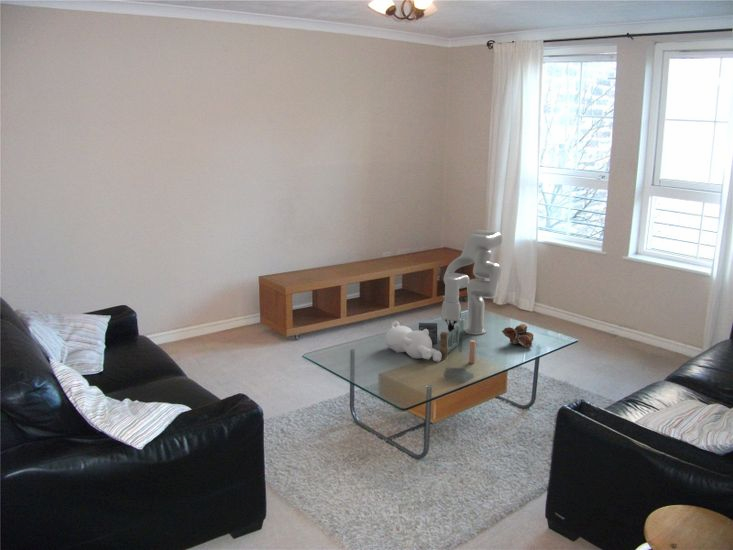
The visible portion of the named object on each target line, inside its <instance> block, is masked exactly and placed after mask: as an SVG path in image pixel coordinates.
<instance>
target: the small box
mask: <svg viewBox="0 0 733 550" xmlns="http://www.w3.org/2000/svg"><path fill="white" fill-rule="evenodd" d="M424 329H427V330H428V331H429V336H430V338H431V341H432V345H437V344H438V322H434V323H433V322H418V330H419V331H423V330H424Z"/></svg>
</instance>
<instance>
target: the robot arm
mask: <svg viewBox="0 0 733 550" xmlns="http://www.w3.org/2000/svg"><path fill="white" fill-rule="evenodd" d="M502 242H503V235H502V234H501V233H500V232H498V231H492V230H487V229H486V230H485V229H478V230H477V229H476V230H474V231H473V233H472V234H471V235H469V236H468V237H467V241H466V242H465V245H464V248H463V249H462V252H461V254H460V255H459V256H458V257H456V258H455V259H454V260H452V261H451V262H450V263H449V264H448V266H447V267H446V270H445V273H444V275H443V283H444V284H445V285H444V286H445V287H444V295H443V296H442V299H443V301H442V305H441V312H440V313H441V315H440V316H441V317H440V318H441V320H442V321H445V322H446V324H447V330H448V333H449V332H450V331H451V330H453V329H454V328H455V325H456V324H457V323H461V322H462V320H461V319H462V308H461V302H460V289H465V288H466V292H467V316H466V317H467V321H466V323H467V324H466V327H464V333H466V334H468V335H474V336H475V335H476V336H477V335H484V334H486V332H487V329H486V328H485V327H484V324H485V323H484V322H485V300H484V298H487V299H494V298H495V297H496V296H497V293H498V288H499V283H500V279H501V274H502V268H501V265H500V264H499V263H497V262H491V258H492V252H491V251H493V250H495V249H497V248H498V247H499V246H500V245H502ZM472 264H473V269H472V273H473V276H475V277H477V278H472V279H471V278H470V277H469V276H468V275H467V274H464V273H458V272H456V271H457V270H458V269H460V268H462V267H466V266H469V265H472ZM478 278H481V279H478ZM484 279H488V280H484Z"/></svg>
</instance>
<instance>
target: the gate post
mask: <svg viewBox="0 0 733 550" xmlns="http://www.w3.org/2000/svg"><path fill="white" fill-rule="evenodd" d="M448 333H449V332H447V331H441V333H440V334H439V335H440V336H439V338H440V339H439V340H440V341H439V351H440V352H441V354H442V357H441V360H446V359H447V358H448V353H447V348H448V344H447V341H448V338H449V337H448Z"/></svg>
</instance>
